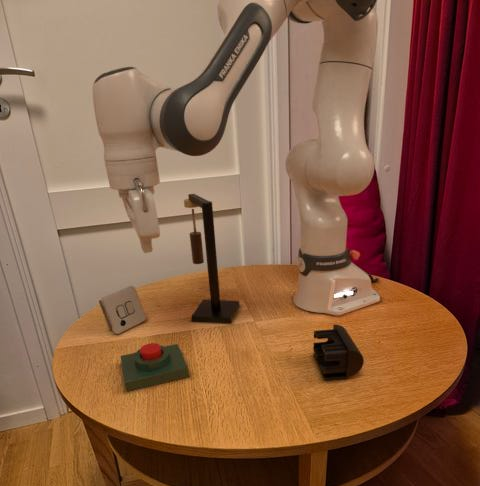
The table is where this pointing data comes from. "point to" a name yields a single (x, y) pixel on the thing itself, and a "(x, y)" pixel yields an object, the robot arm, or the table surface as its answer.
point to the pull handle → (196, 244)
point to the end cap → (337, 354)
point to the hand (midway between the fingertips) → (147, 250)
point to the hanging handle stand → (211, 271)
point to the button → (151, 351)
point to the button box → (153, 368)
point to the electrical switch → (122, 309)
